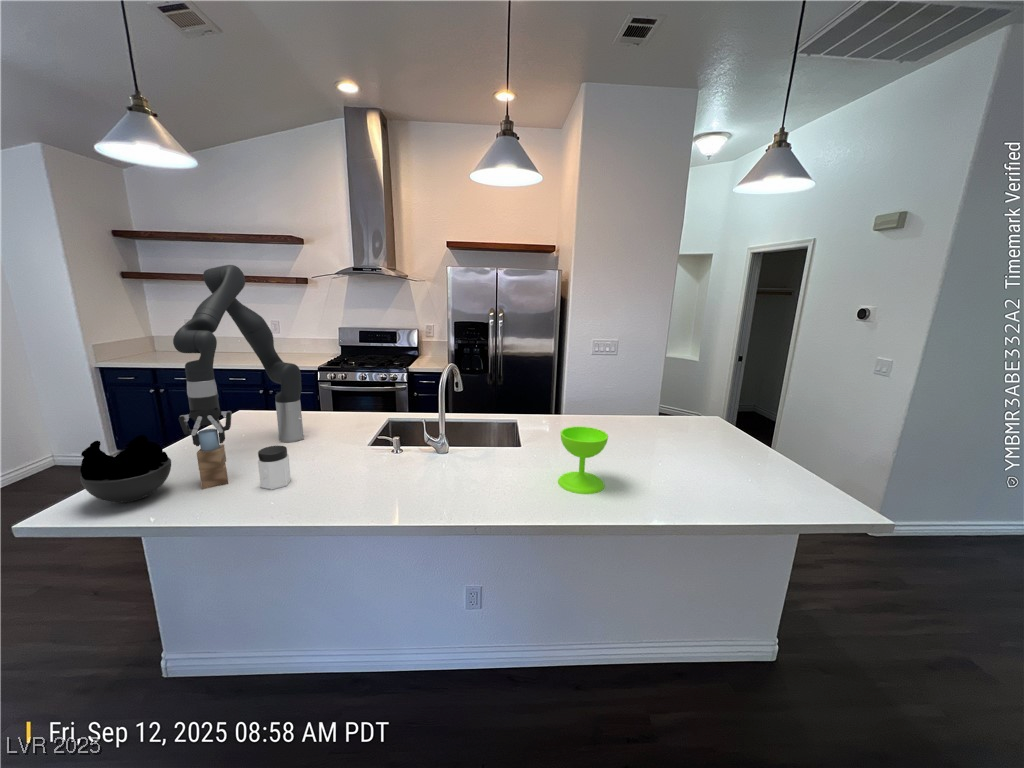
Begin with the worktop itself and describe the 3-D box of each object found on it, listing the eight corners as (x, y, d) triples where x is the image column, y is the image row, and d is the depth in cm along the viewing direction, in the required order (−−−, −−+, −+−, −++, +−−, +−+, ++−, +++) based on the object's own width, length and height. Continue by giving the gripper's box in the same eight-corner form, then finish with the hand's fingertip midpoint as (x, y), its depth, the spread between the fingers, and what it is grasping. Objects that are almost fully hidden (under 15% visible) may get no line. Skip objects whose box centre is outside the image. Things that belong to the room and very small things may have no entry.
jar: (254, 486, 134) (250, 452, 132) (275, 476, 142) (272, 443, 139) (276, 491, 132) (272, 456, 129) (296, 480, 139) (293, 447, 137)
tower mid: (226, 461, 139) (224, 444, 138) (221, 468, 134) (218, 450, 132) (204, 463, 137) (202, 446, 136) (199, 470, 132) (196, 452, 130)
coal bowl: (192, 487, 133) (183, 432, 129) (123, 520, 113) (110, 456, 109) (142, 480, 137) (132, 426, 132) (67, 510, 117) (53, 448, 113)
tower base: (227, 476, 141) (224, 460, 140) (228, 484, 136) (226, 467, 135) (201, 481, 137) (199, 464, 136) (202, 489, 132) (199, 472, 130)
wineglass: (567, 470, 154) (569, 423, 150) (609, 479, 146) (613, 431, 143) (550, 486, 140) (553, 436, 136) (596, 498, 133) (600, 445, 129)
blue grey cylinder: (220, 444, 137) (218, 427, 136) (218, 450, 133) (215, 432, 132) (202, 447, 135) (199, 429, 134) (199, 452, 131) (196, 434, 129)
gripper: (231, 389, 136) (237, 437, 140) (177, 393, 130) (185, 443, 134) (228, 394, 130) (234, 444, 134) (170, 398, 124) (179, 451, 127)
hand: (209, 444), depth 134 cm, fingers open, 5 cm apart
